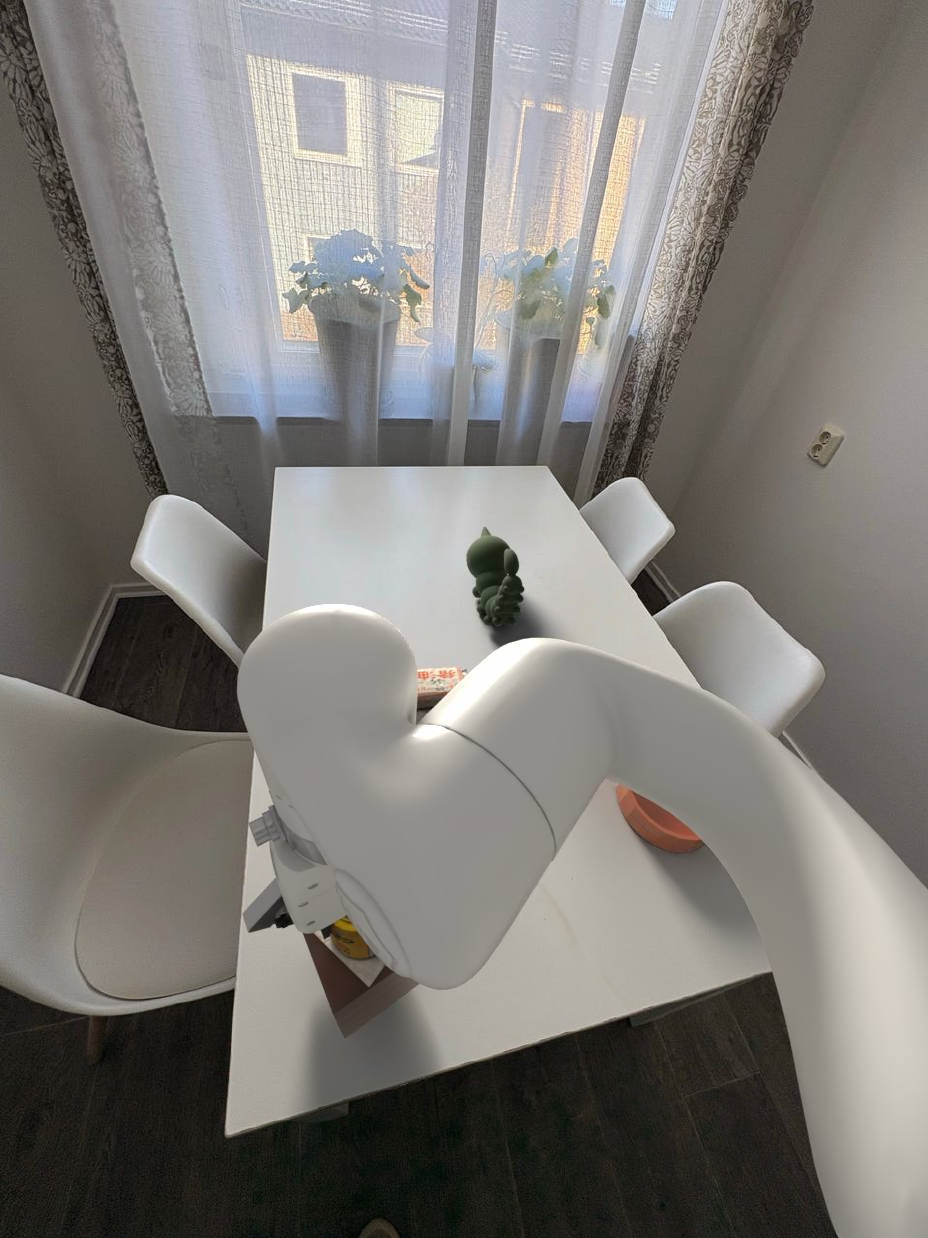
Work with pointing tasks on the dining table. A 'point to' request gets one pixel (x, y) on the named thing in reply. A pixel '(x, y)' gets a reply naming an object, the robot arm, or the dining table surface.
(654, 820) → the dish
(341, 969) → the stand
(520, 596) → the toy figurine
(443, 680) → the packaged product
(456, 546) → the dining table surface
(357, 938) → the condiment
